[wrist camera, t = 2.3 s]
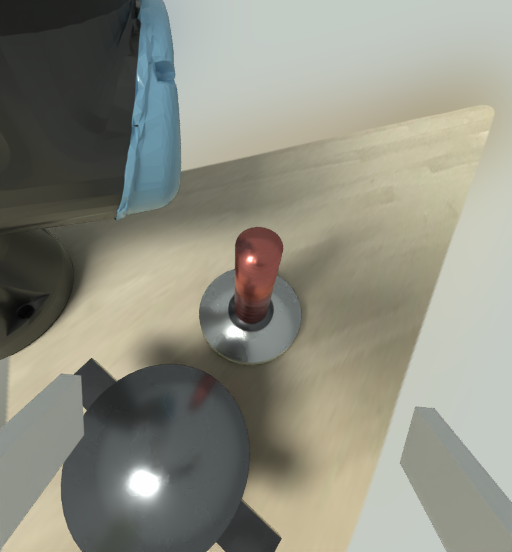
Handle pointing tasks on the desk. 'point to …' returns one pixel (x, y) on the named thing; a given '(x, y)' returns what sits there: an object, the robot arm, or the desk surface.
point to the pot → (160, 466)
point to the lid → (251, 303)
